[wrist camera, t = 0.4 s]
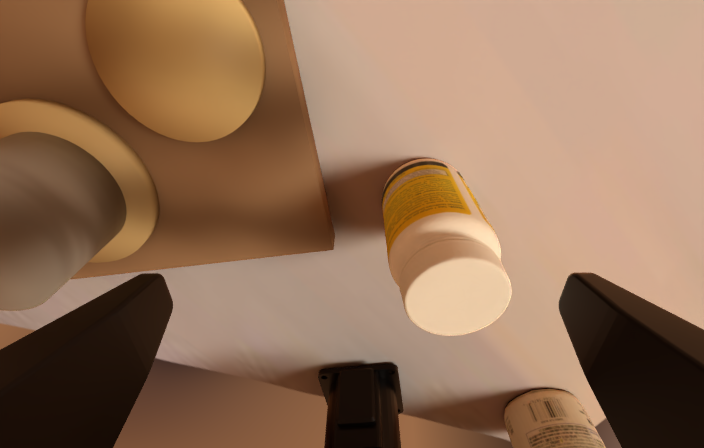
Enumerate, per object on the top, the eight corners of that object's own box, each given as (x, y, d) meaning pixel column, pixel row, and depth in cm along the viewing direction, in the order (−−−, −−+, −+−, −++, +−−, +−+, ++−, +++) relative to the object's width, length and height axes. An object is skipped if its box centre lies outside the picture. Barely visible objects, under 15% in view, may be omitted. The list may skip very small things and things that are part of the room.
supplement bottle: (365, 205, 20) (367, 313, 13) (414, 139, 18) (448, 225, 11) (429, 242, 22) (463, 357, 15) (482, 184, 20) (552, 287, 12)
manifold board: (334, 235, 22) (324, 327, 15) (71, 266, 23) (-33, 360, 17) (242, -189, 12) (119, -391, 6) (-187, -82, 14) (-624, -152, 8)
